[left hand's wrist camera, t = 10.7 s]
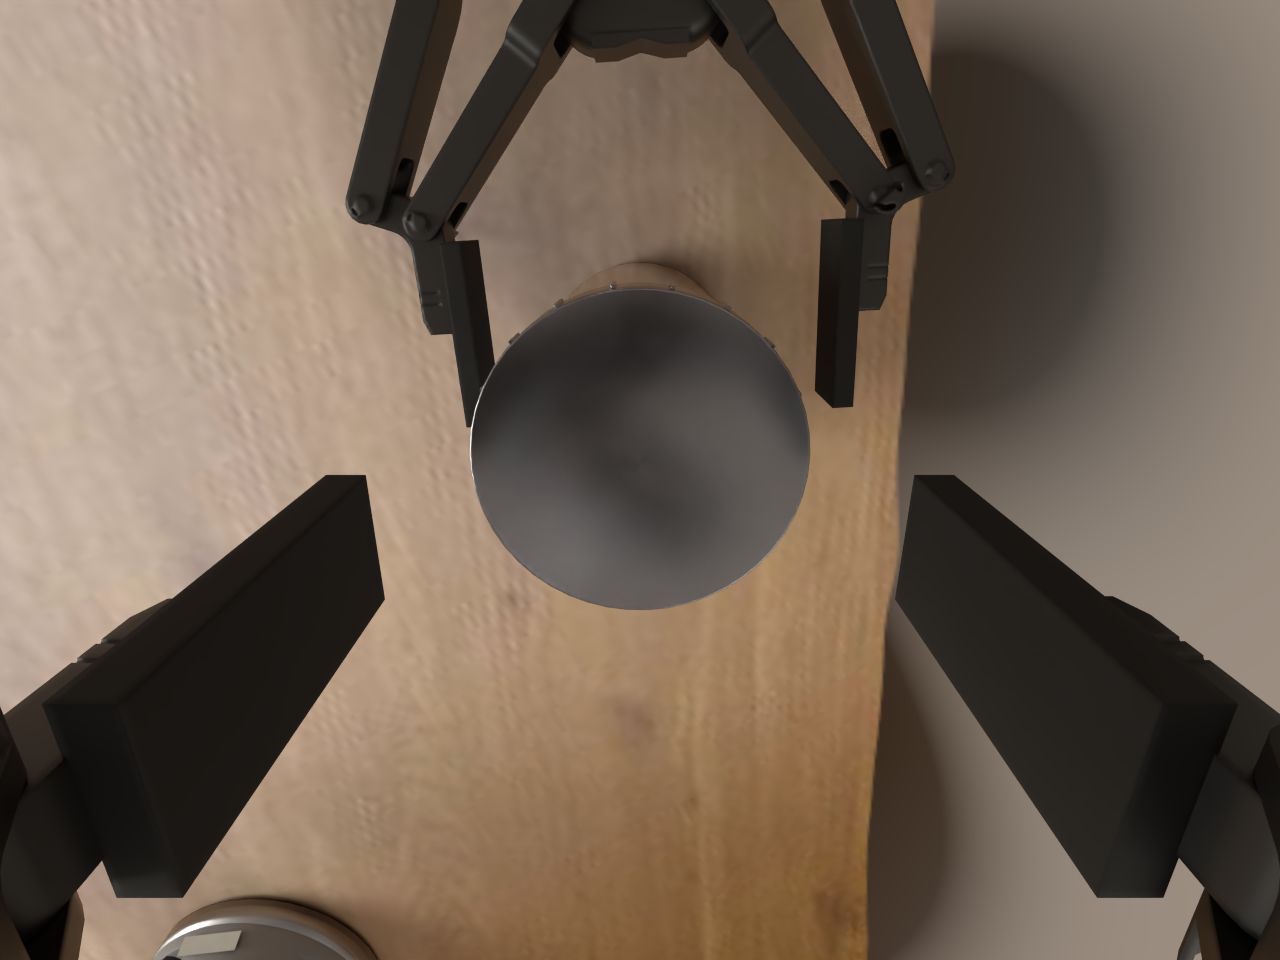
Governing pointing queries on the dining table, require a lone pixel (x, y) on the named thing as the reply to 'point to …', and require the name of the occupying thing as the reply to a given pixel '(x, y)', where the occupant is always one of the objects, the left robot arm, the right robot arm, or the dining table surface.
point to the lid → (640, 446)
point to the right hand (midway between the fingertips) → (657, 409)
